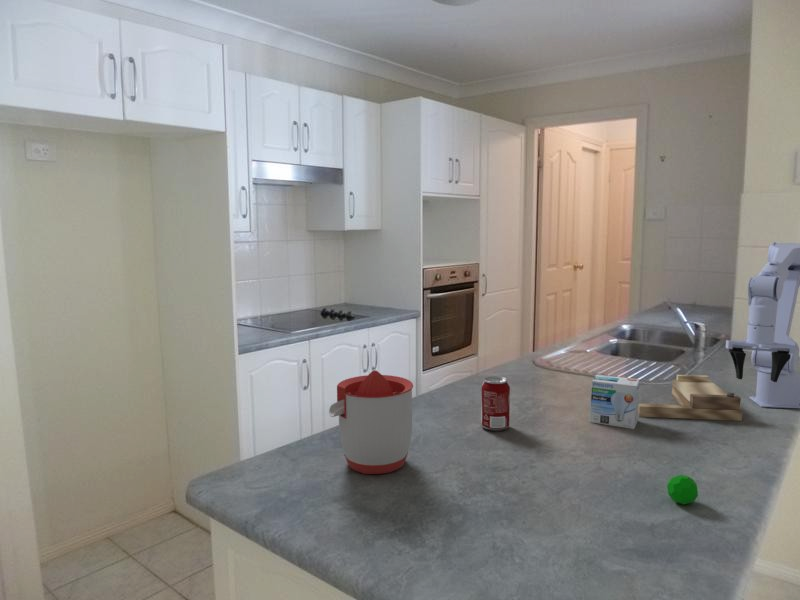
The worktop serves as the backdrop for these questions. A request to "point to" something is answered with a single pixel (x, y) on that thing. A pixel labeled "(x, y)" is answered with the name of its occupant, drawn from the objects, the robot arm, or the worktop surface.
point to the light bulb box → (614, 401)
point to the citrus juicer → (374, 421)
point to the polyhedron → (682, 489)
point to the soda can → (495, 403)
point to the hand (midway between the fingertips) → (756, 379)
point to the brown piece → (686, 410)
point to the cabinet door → (715, 401)
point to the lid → (696, 385)
